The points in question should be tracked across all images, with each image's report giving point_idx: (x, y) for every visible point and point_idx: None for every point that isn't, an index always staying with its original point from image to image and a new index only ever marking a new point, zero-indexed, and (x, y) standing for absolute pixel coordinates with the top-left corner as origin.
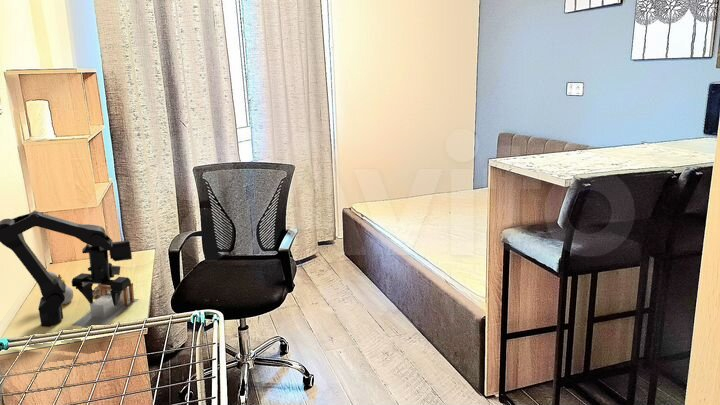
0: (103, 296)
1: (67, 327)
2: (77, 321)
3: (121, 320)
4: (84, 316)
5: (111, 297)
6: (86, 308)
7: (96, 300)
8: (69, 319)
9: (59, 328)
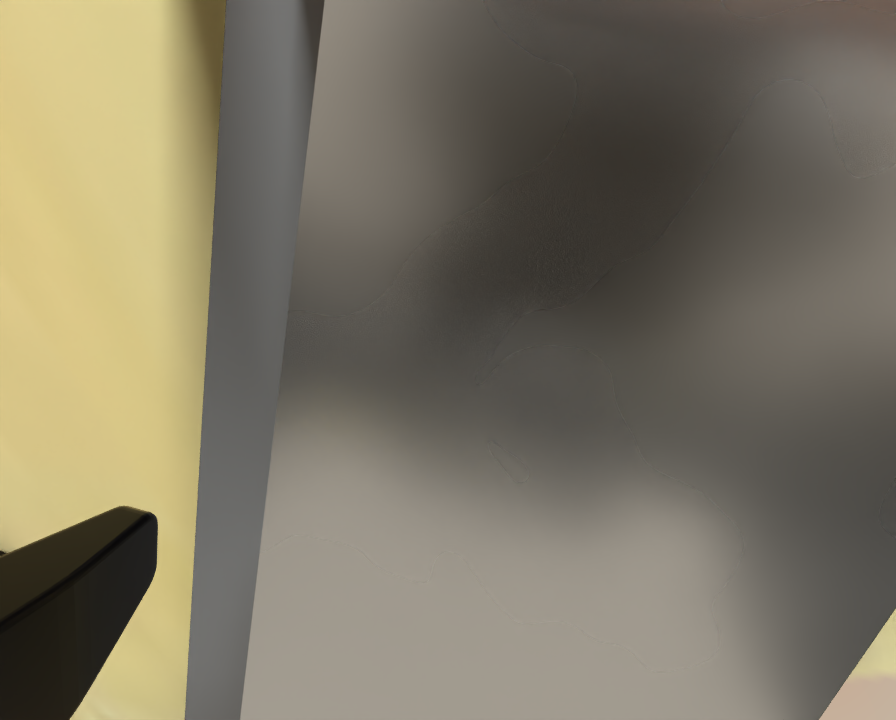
0: (357, 449)
1: (152, 707)
2: (202, 674)
3: (892, 635)
4: (208, 538)
5: (749, 577)
6: (3, 105)
7: (272, 718)
8: (21, 514)
9: (74, 714)
